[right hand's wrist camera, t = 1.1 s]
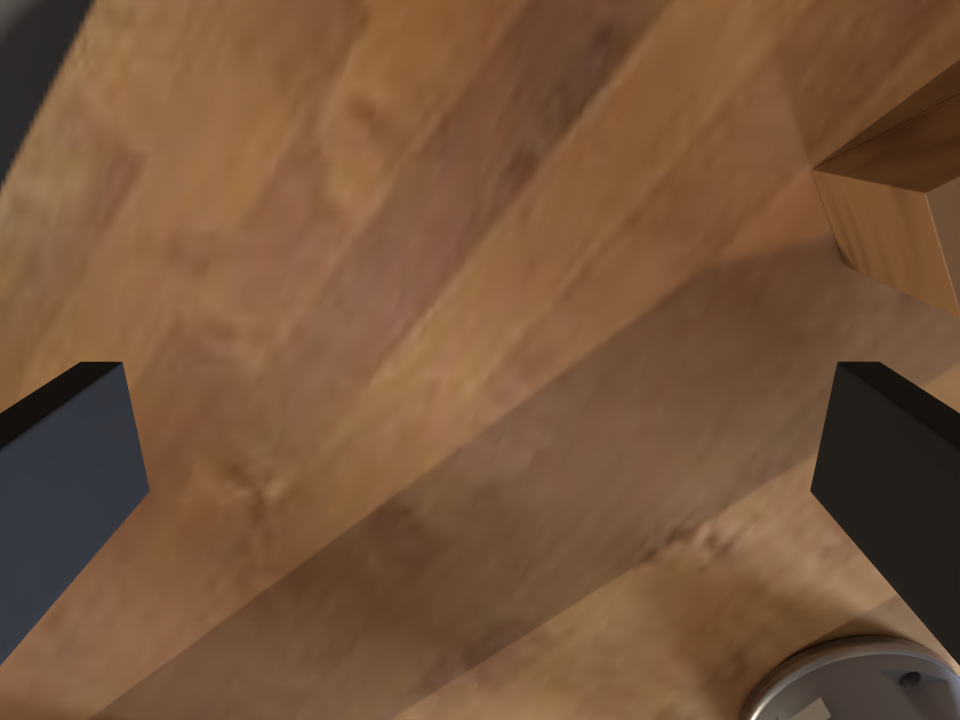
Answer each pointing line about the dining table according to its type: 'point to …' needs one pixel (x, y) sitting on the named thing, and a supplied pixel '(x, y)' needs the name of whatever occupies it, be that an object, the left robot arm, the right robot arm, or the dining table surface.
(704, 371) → the dining table surface
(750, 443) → the dining table surface
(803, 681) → the right robot arm
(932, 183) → the bar
